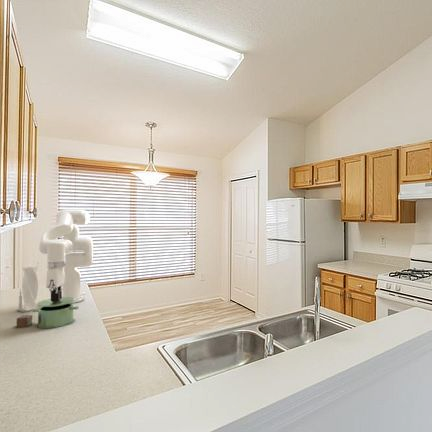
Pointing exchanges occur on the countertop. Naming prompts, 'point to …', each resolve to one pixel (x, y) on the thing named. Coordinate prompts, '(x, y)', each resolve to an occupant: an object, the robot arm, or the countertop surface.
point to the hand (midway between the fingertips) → (56, 299)
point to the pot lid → (55, 303)
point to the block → (24, 321)
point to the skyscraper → (29, 288)
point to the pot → (55, 315)
